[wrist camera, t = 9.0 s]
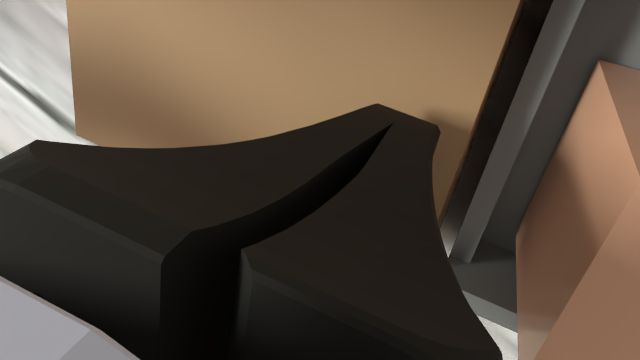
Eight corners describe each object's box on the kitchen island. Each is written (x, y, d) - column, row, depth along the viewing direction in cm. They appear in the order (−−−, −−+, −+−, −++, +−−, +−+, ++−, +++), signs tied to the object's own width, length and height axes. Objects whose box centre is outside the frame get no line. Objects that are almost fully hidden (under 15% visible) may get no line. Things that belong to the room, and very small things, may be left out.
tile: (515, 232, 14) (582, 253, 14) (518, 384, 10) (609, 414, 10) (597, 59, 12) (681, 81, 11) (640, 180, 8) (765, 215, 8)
